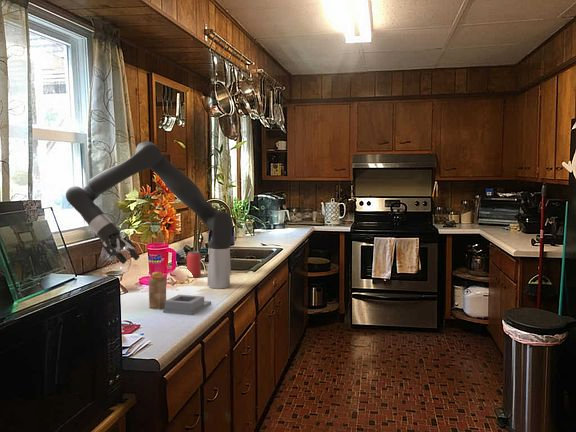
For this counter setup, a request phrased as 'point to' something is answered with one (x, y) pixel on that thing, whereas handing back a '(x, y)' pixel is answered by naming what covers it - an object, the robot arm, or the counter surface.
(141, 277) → the counter surface
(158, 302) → the brown bottle
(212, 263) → the robot arm
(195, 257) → the beer can
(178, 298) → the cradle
